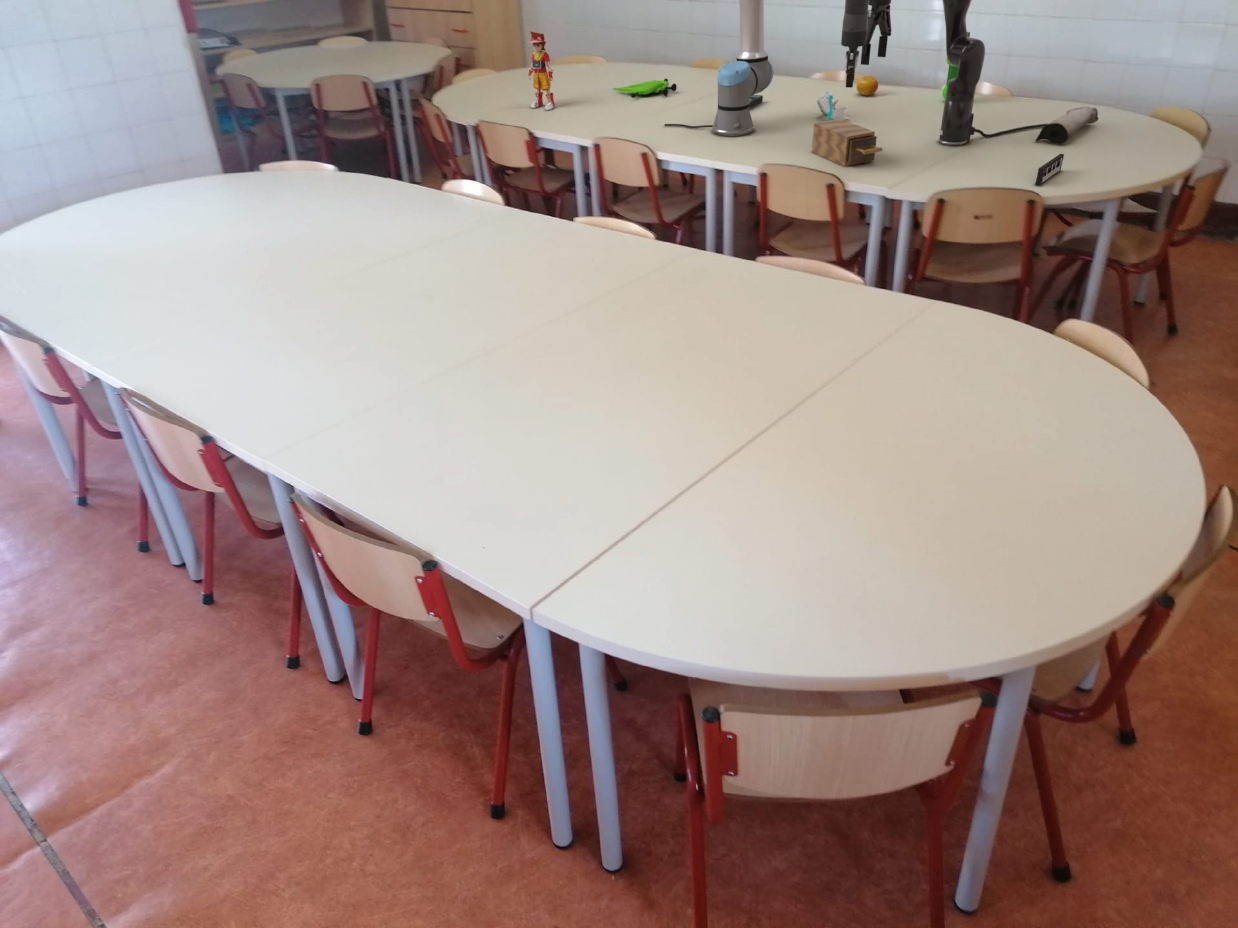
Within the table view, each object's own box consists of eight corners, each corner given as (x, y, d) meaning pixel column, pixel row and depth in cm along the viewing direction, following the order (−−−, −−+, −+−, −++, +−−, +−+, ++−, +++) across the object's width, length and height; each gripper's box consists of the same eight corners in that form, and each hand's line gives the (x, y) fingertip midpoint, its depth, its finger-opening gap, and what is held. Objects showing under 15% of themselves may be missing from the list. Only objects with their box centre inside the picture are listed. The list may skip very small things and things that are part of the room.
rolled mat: (1064, 112, 323) (1089, 94, 314) (1078, 133, 323) (1104, 116, 315) (1031, 135, 305) (1057, 117, 297) (1046, 157, 306) (1072, 140, 298)
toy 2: (686, 85, 398) (631, 84, 414) (685, 72, 395) (629, 72, 411) (651, 104, 381) (596, 103, 397) (650, 92, 378) (594, 91, 394)
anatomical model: (812, 91, 345) (837, 84, 345) (815, 118, 351) (840, 111, 351) (822, 101, 333) (849, 93, 332) (825, 128, 339) (851, 121, 338)
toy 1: (525, 109, 381) (517, 32, 364) (534, 104, 388) (527, 28, 371) (550, 110, 377) (543, 32, 360) (559, 105, 384) (553, 28, 367)
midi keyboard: (1039, 185, 269) (1043, 168, 266) (1035, 184, 270) (1038, 168, 267) (1060, 170, 279) (1064, 154, 277) (1056, 169, 280) (1060, 153, 277)
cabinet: (871, 161, 298) (874, 131, 292) (844, 166, 295) (847, 136, 289) (837, 147, 313) (840, 118, 308) (811, 151, 310) (813, 123, 305)
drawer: (884, 164, 291) (886, 140, 287) (859, 169, 288) (862, 145, 284) (842, 146, 310) (844, 124, 305) (818, 151, 307) (820, 128, 303)
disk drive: (747, 111, 360) (763, 102, 370) (747, 104, 359) (763, 95, 369) (724, 109, 365) (740, 100, 375) (724, 101, 363) (740, 93, 373)
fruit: (851, 87, 368) (863, 69, 365) (853, 91, 376) (865, 73, 373) (868, 99, 367) (880, 81, 364) (870, 102, 374) (882, 84, 371)
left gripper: (875, -3, 285) (868, 69, 297) (906, -14, 301) (898, 54, 313) (853, -4, 289) (847, 67, 301) (885, -15, 305) (878, 53, 317)
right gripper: (866, 32, 271) (860, 89, 280) (868, 24, 282) (862, 79, 291) (840, 33, 272) (836, 89, 282) (843, 25, 284) (839, 79, 293)
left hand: (873, 61), depth 307 cm, fingers open, 13 cm apart
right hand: (849, 84), depth 286 cm, fingers open, 8 cm apart
